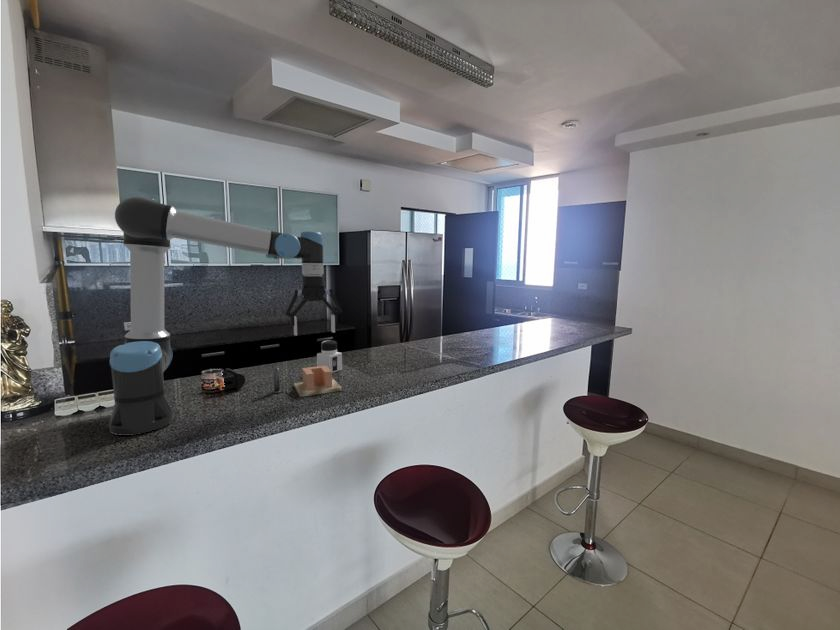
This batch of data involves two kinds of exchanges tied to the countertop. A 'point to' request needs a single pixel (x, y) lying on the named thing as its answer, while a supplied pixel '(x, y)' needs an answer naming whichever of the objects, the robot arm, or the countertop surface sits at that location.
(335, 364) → the container
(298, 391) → the board
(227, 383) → the end cap
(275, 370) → the stand
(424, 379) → the countertop surface
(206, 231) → the robot arm
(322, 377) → the c link
